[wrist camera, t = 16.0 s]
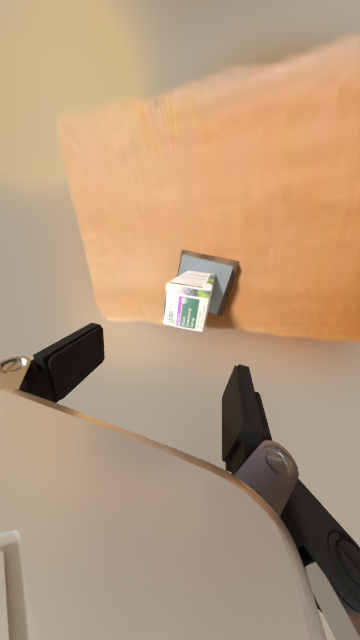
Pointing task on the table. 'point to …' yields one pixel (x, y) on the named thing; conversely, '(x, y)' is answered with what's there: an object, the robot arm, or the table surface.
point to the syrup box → (188, 300)
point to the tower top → (209, 267)
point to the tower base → (219, 260)
